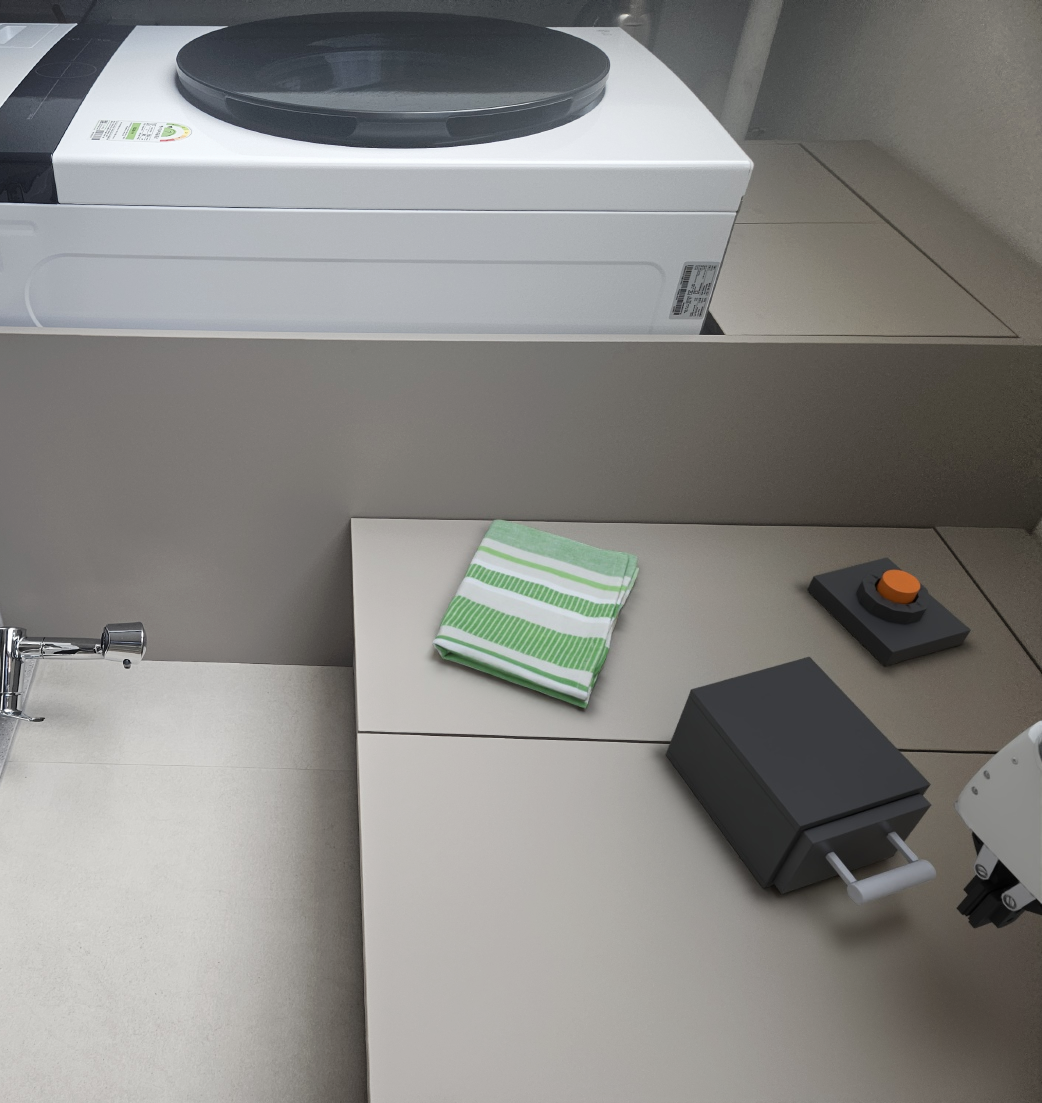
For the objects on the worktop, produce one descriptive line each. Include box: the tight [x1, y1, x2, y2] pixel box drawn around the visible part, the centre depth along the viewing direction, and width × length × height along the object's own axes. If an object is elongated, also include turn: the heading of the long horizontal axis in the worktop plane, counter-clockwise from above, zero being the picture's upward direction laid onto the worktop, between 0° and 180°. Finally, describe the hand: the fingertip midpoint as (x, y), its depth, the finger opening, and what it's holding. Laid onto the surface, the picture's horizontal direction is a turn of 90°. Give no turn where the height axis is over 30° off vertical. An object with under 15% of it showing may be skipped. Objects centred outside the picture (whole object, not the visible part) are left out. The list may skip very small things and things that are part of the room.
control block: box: [806, 556, 972, 667], centre depth 103 cm, size 12×10×4 cm
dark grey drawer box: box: [665, 656, 932, 889], centre depth 84 cm, size 15×13×10 cm
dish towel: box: [432, 519, 640, 709], centre depth 105 cm, size 18×23×3 cm
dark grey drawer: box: [773, 793, 937, 905], centre depth 82 cm, size 18×11×8 cm, turn 18°
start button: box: [877, 570, 921, 604], centre depth 102 cm, size 4×4×2 cm
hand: (981, 912), depth 68 cm, fingers closed
